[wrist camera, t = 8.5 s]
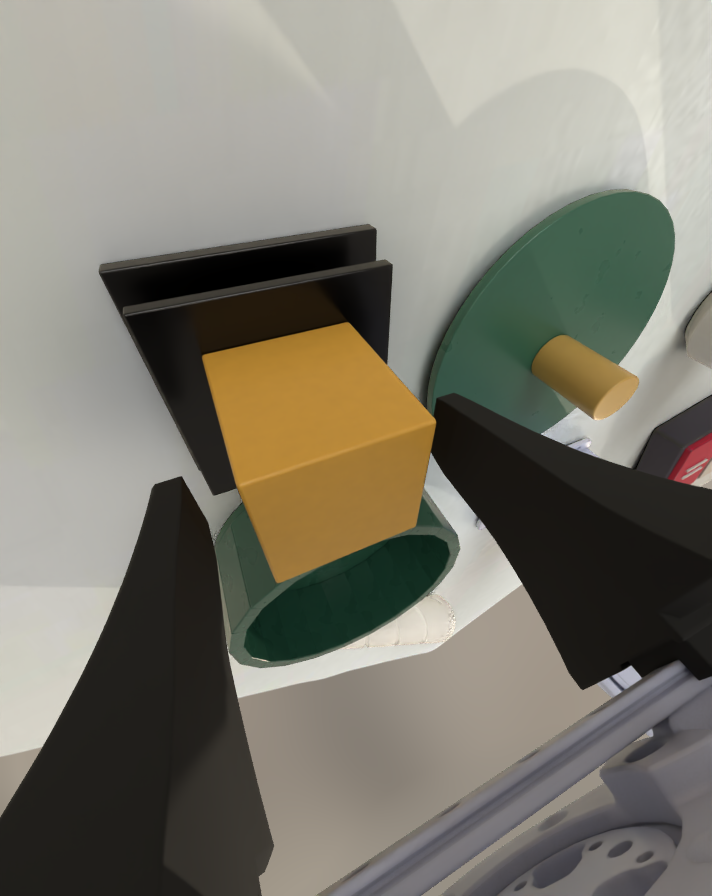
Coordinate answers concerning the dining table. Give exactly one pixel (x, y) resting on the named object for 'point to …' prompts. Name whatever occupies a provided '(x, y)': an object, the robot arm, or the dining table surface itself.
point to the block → (320, 444)
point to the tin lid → (561, 313)
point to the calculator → (682, 447)
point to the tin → (325, 590)
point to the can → (700, 334)
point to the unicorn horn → (414, 626)
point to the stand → (243, 314)
